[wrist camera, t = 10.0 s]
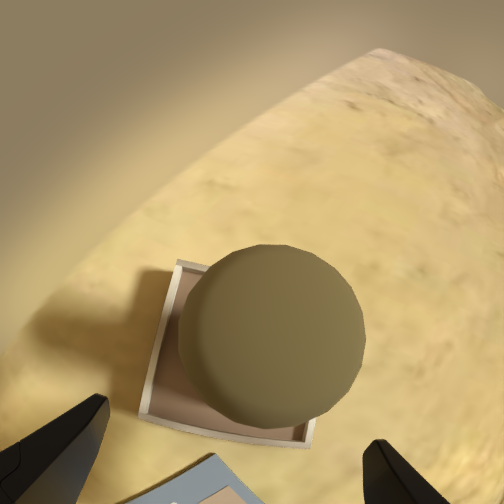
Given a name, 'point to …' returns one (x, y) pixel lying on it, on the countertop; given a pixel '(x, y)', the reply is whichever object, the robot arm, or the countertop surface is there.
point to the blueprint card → (201, 487)
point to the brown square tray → (183, 393)
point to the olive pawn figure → (271, 336)
